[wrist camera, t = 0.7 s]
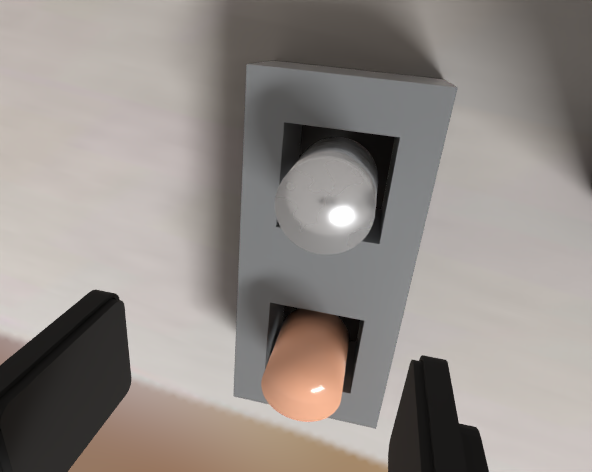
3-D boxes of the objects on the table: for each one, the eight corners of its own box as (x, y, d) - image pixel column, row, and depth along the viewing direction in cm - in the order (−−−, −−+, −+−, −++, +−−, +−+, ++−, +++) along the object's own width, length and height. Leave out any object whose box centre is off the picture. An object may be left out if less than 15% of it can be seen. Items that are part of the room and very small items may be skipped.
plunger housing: (443, 79, 27) (457, 87, 21) (377, 372, 37) (375, 428, 31) (273, 60, 28) (246, 63, 23) (255, 347, 38) (233, 396, 33)
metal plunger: (385, 142, 25) (383, 167, 20) (370, 222, 27) (366, 262, 22) (300, 131, 25) (278, 152, 20) (292, 209, 27) (271, 245, 22)
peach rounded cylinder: (354, 314, 30) (347, 368, 25) (344, 369, 32) (335, 429, 27) (284, 301, 30) (263, 350, 25) (278, 356, 32) (259, 411, 28)
